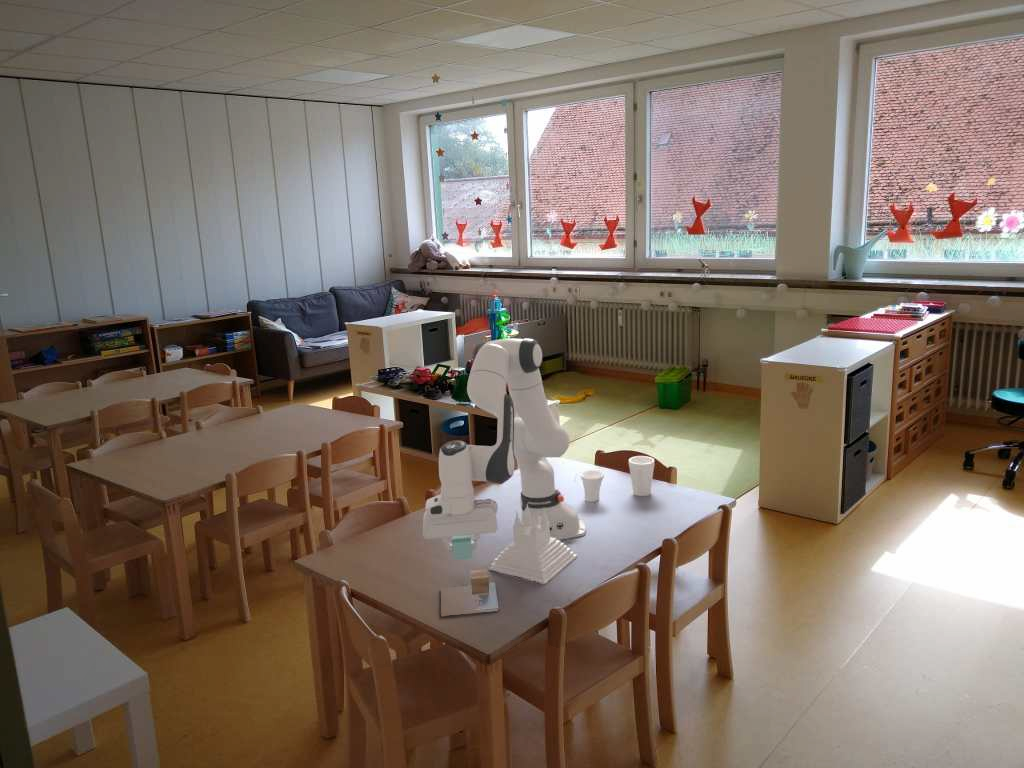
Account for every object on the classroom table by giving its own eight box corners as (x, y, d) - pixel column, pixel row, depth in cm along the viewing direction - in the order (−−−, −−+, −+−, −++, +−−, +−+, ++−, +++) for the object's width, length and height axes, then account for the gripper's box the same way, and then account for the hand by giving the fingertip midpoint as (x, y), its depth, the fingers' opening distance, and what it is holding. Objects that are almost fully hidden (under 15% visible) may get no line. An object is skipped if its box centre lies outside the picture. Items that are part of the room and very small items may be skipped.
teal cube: (471, 549, 213) (470, 533, 212) (472, 558, 208) (470, 541, 207) (453, 551, 213) (451, 534, 211) (453, 559, 208) (452, 542, 207)
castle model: (577, 557, 242) (575, 502, 238) (544, 585, 226) (542, 527, 222) (522, 545, 253) (520, 492, 249) (488, 570, 237) (484, 515, 233)
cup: (590, 505, 281) (589, 480, 279) (576, 498, 289) (575, 472, 287) (610, 500, 285) (609, 474, 283) (595, 492, 293) (594, 467, 291)
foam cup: (656, 497, 286) (656, 463, 283) (631, 498, 286) (630, 465, 283) (652, 487, 295) (651, 455, 292) (627, 488, 295) (627, 456, 292)
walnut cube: (471, 586, 225) (470, 570, 224) (488, 584, 225) (487, 569, 224) (472, 594, 220) (470, 578, 219) (489, 593, 221) (488, 577, 219)
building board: (494, 585, 227) (494, 581, 227) (498, 611, 213) (498, 607, 212) (440, 590, 226) (440, 586, 226) (440, 617, 211) (440, 613, 211)
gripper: (495, 493, 211) (499, 540, 214) (420, 500, 209) (425, 547, 212) (497, 502, 205) (501, 550, 208) (420, 510, 203) (424, 558, 206)
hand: (462, 549), depth 210 cm, fingers closed on teal cube, 5 cm apart
